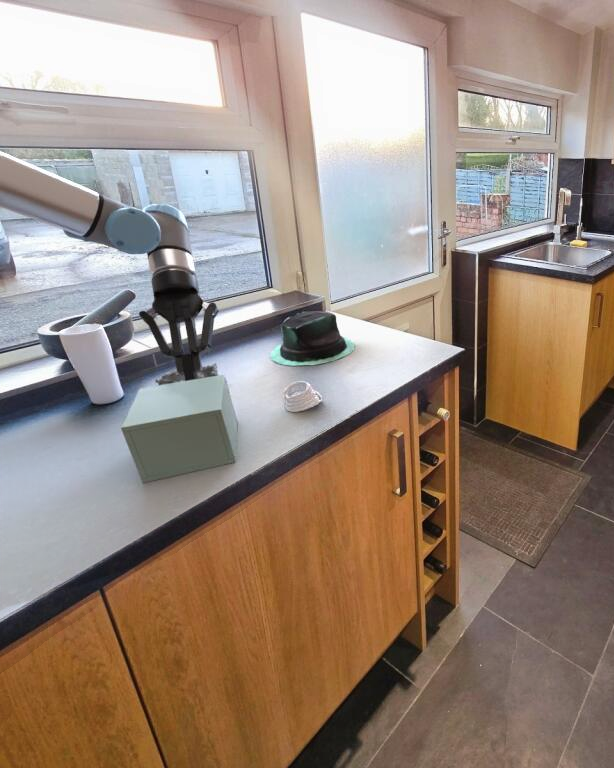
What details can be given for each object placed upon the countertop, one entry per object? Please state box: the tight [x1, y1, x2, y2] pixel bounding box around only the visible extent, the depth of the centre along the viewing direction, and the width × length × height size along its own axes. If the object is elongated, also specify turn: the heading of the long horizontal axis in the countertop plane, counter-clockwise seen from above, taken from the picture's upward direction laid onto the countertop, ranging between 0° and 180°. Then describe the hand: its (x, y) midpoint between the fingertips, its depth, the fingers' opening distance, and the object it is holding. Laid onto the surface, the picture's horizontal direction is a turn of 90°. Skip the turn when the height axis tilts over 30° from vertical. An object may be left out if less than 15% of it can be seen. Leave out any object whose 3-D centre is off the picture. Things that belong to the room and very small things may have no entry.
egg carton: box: [155, 362, 219, 386], centre depth 104 cm, size 11×8×4 cm
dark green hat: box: [269, 310, 356, 367], centre depth 124 cm, size 15×19×20 cm
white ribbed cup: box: [281, 380, 324, 413], centre depth 96 cm, size 8×7×5 cm
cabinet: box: [120, 374, 239, 484], centre depth 81 cm, size 15×13×10 cm
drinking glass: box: [58, 323, 125, 405], centre depth 97 cm, size 7×7×15 cm
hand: (193, 388), depth 91 cm, fingers closed
